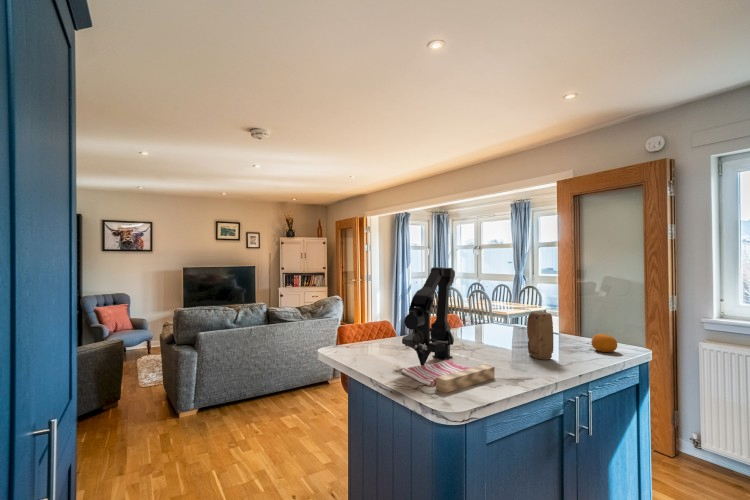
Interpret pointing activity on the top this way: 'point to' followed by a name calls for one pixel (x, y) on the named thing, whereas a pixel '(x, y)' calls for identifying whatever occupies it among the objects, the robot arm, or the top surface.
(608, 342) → the fruit
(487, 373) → the tan wooden bar
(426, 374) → the dish towel
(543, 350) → the block
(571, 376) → the top surface
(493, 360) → the top surface
